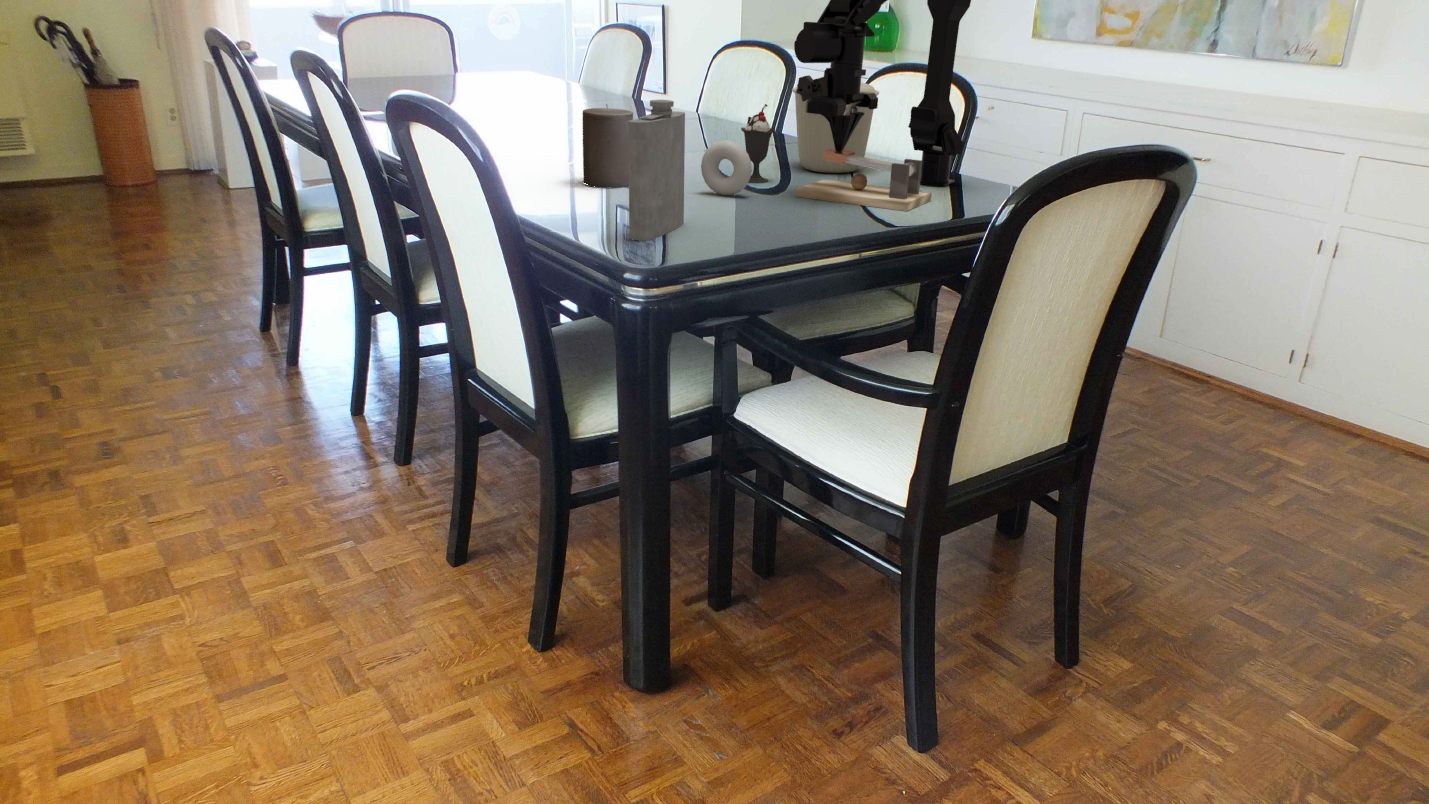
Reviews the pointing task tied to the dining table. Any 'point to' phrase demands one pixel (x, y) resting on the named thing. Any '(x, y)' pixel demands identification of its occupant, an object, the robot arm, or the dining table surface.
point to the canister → (829, 137)
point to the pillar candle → (606, 147)
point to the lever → (862, 160)
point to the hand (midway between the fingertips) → (838, 151)
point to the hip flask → (656, 171)
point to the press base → (873, 190)
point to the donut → (738, 160)
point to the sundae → (757, 142)
